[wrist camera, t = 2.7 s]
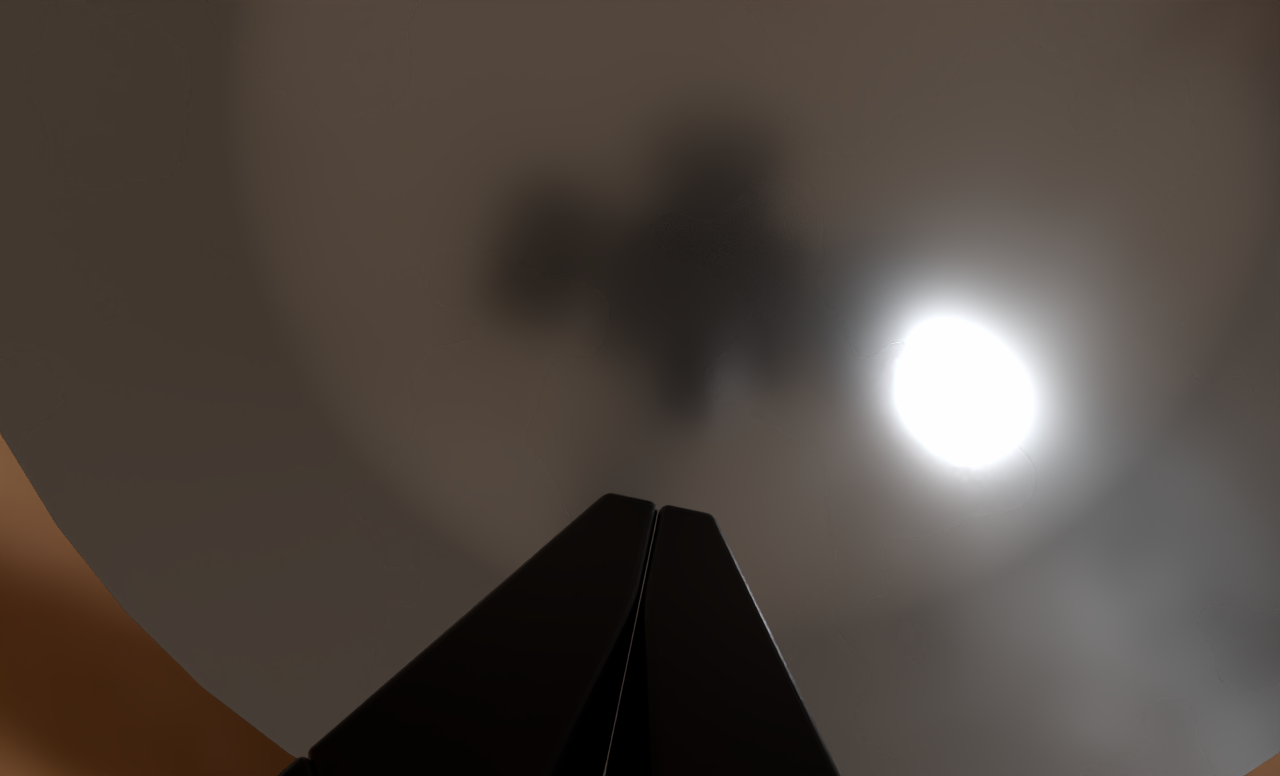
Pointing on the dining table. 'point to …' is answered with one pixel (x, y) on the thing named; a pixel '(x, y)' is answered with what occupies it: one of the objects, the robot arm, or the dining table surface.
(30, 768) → the dining table surface
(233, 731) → the dining table surface
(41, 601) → the dining table surface
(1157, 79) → the lid
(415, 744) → the robot arm
